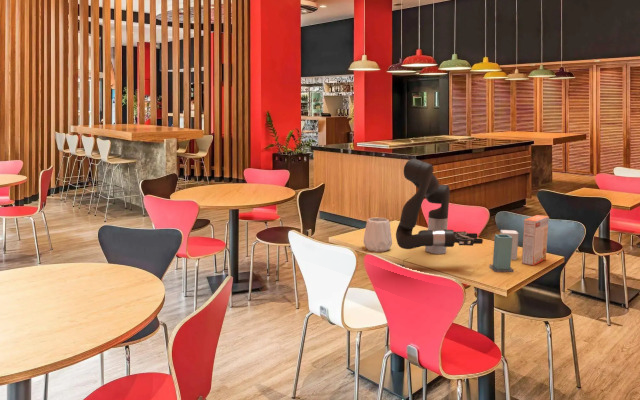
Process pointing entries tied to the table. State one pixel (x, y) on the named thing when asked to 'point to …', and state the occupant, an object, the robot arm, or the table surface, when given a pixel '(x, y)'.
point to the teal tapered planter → (502, 251)
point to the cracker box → (535, 239)
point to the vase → (377, 235)
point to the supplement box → (514, 241)
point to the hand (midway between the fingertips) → (479, 238)
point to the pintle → (501, 269)
